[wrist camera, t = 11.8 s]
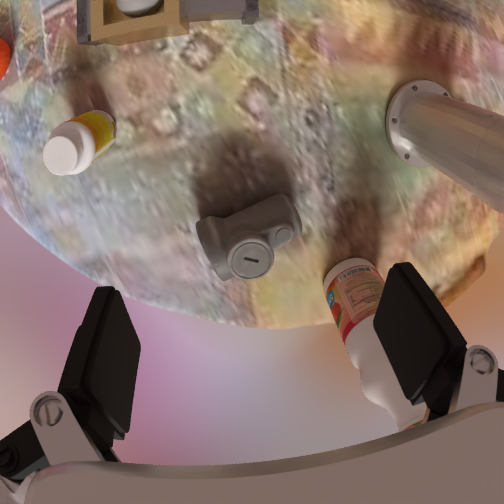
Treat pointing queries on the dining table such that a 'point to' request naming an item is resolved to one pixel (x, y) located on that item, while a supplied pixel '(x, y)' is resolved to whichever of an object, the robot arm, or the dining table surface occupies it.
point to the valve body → (154, 19)
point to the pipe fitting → (249, 237)
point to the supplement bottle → (79, 142)
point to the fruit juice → (367, 337)
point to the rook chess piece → (138, 7)
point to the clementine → (4, 57)
